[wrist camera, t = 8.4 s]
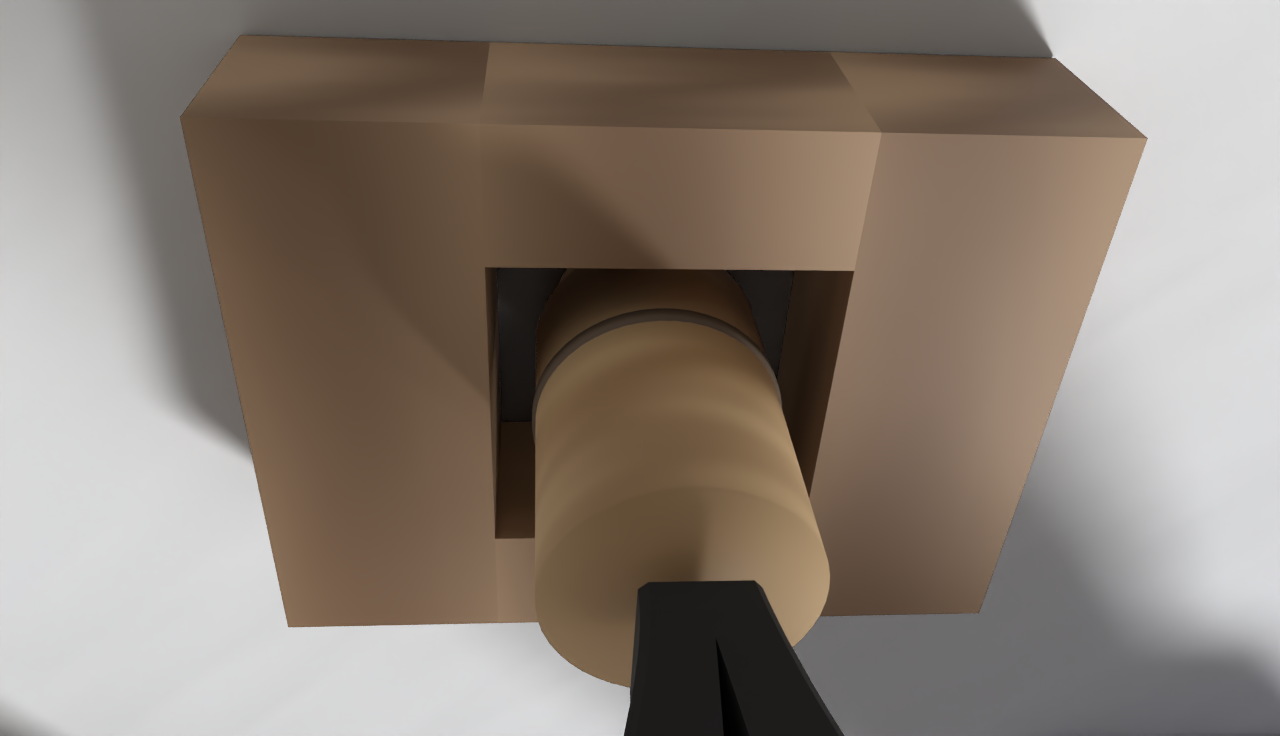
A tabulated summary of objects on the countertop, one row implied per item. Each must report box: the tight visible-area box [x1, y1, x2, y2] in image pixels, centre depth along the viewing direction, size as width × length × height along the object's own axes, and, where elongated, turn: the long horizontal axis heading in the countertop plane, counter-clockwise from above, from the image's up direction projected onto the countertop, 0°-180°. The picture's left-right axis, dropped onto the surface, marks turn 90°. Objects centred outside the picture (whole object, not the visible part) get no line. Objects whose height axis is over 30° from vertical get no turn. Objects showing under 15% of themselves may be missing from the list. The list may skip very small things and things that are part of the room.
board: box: [180, 35, 1148, 627], centre depth 17 cm, size 12×9×3 cm
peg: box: [532, 268, 830, 687], centre depth 15 cm, size 4×4×6 cm
